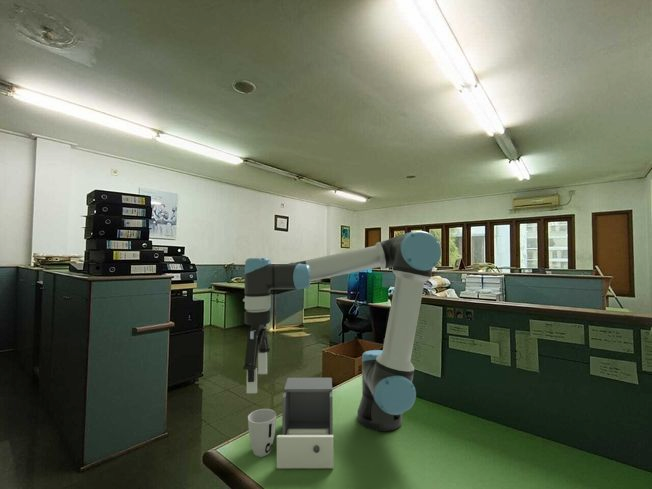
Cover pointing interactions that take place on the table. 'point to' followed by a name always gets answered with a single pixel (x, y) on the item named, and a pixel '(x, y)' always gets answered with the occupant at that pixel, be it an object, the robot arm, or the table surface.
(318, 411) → the housing
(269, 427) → the cup
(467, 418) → the table surface
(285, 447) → the white drawer
